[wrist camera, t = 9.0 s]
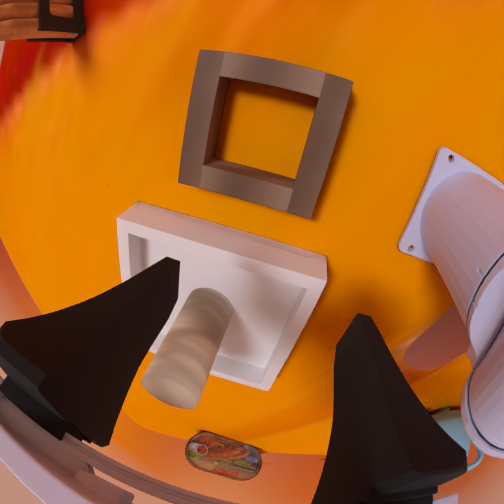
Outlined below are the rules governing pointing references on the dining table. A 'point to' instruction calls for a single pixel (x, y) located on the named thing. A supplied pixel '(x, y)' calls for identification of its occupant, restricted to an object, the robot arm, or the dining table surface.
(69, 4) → the ammunition clip
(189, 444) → the tin
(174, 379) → the dowel
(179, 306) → the tray
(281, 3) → the dining table surface
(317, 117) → the frame
